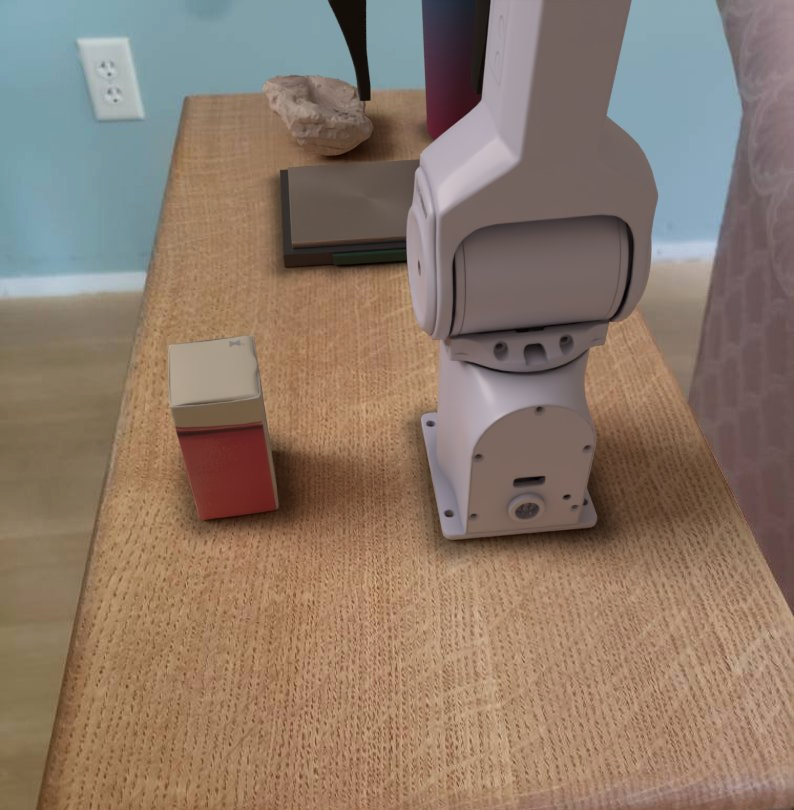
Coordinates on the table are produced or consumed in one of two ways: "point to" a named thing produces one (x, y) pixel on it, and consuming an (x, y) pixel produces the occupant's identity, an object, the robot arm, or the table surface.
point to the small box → (222, 426)
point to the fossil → (319, 112)
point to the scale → (346, 212)
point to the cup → (448, 62)
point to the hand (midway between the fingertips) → (421, 91)
